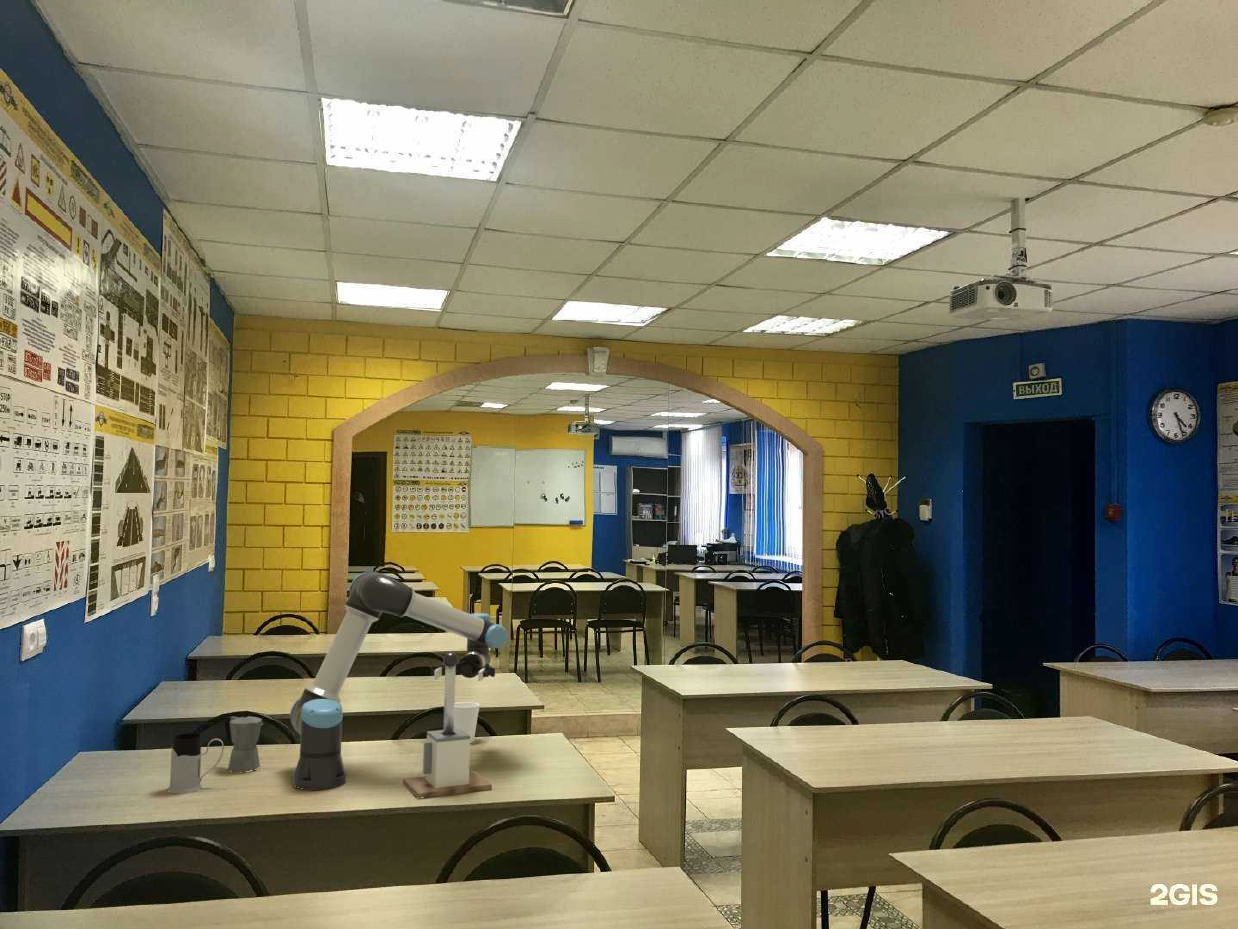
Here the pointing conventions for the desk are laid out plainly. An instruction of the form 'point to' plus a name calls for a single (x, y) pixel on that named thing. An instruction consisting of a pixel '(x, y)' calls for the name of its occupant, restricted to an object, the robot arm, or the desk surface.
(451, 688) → the plunger
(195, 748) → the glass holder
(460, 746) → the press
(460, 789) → the board
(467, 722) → the foam cup
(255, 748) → the coffeepot
